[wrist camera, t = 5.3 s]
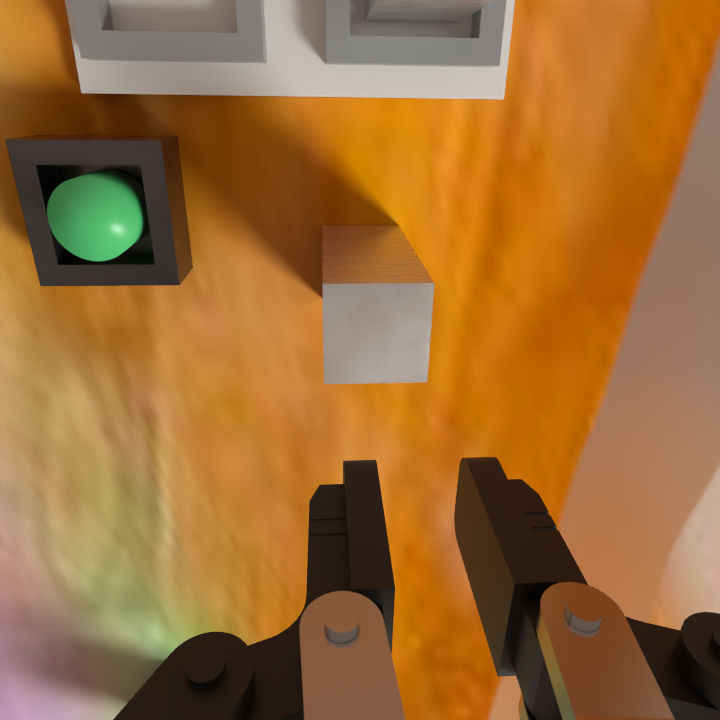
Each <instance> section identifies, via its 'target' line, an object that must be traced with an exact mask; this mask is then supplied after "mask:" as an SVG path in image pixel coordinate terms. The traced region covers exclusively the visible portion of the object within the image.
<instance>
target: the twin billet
mask: <svg viewBox="0 0 720 720" xmlns="http://www.w3.org/2000/svg"><path fill="white" fill-rule="evenodd" d="M495 1H496V0H365V21H401V22H444V23H457V22H458V21H460V20H462V19H464V18H466V17H467V16H469V15H471V14H473V13H475V12H477V11H478V10H480V9H482V8H484V7H486V6H487V5H489V4H491V3H493V2H495Z"/></svg>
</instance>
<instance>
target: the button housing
mask: <svg viewBox="0 0 720 720" xmlns="http://www.w3.org/2000/svg"><path fill="white" fill-rule="evenodd" d="M6 144H7V148H8V152H9V156H10V161H11V165H12V169H13V173H14V177H15V181H16V186H17V190H18V194H19V198H20V202H21V206H22V211H23V215H24V219H25V223H26V227H27V231H28V235H29V240H30V244H31V248H32V252H33V256H34V260H35V265H36V269H37V273H38V277H39V281H40V285H41V286H118V285H180V284H181V283H182V281H183V280H184V279H185V277H186V276H187V275H188V273H189V272H190V271H191V269H192V268H193V266H192V257H191V249H190V240H189V232H188V223H187V215H186V206H185V198H184V189H183V181H182V173H181V164H180V156H179V147H178V139H177V136H73V135H36V136H28V137H21V138H13V139H6ZM102 169H113V170H118V171H121V172H123V173H126V174H128V175H129V176H131V177H133V178H134V179H135V180H136V181H137V182H138V183H139V184H141V186H142V187H143V188H144V192H145V199H146V206H147V213H148V219H149V226H150V228H149V229H148V231H147V233H146V234H145V235H144V236H143V237H142V238H141V239H140V240H138V241H137V242H136V243H134V244H133V245H132V246H131V247H129V248H128V249H127V250H126V251H124V252H123V253H122V254H120V255H119V256H117V257H115V258H113V259H110V260H106V261H91V260H86V259H83V258H80V257H78V256H76V255H74V254H72V253H71V252H69V251H68V250H67V249H66V248H64V247H63V246H62V245H61V244H60V243H59V241H58V240H57V239H56V237H55V236H54V234H53V232H52V230H51V228H50V225H49V222H48V217H47V207H48V202H49V199H50V196H51V194H52V193H53V191H54V190H55V189H56V188H57V187H58V186H59V185H60V184H61V183H63V182H65V181H67V180H70V179H73V178H76V177H79V176H82V175H85V174H88V173H91V172H94V171H97V170H102Z"/></svg>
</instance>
